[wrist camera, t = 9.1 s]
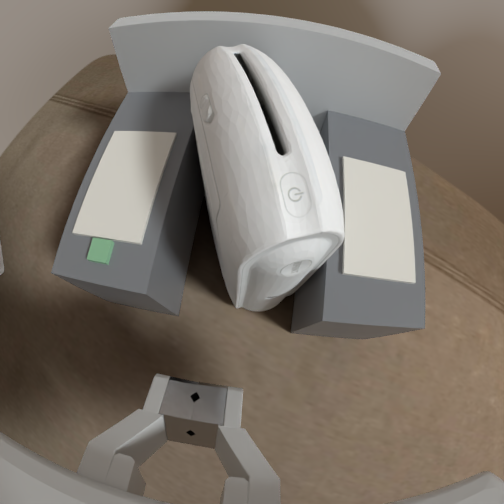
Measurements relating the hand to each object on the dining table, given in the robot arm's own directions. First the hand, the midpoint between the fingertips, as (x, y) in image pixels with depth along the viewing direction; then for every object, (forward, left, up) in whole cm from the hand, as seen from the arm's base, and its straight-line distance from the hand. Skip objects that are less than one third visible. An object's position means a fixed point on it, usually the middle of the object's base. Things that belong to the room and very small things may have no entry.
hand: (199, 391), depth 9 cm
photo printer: (+1, +9, -8) cm, 12 cm away
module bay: (+1, +9, -8) cm, 12 cm away
